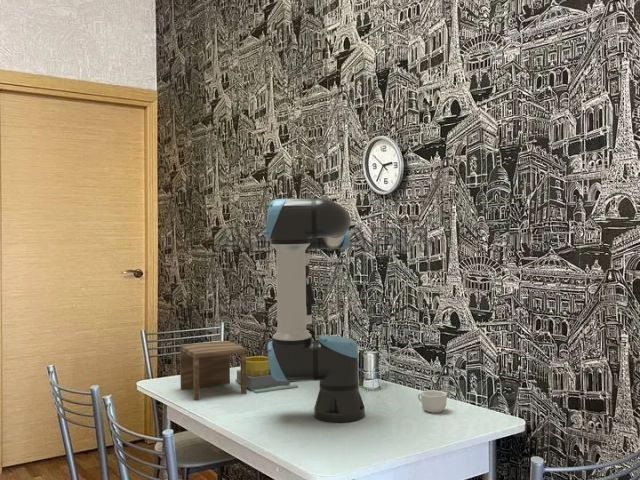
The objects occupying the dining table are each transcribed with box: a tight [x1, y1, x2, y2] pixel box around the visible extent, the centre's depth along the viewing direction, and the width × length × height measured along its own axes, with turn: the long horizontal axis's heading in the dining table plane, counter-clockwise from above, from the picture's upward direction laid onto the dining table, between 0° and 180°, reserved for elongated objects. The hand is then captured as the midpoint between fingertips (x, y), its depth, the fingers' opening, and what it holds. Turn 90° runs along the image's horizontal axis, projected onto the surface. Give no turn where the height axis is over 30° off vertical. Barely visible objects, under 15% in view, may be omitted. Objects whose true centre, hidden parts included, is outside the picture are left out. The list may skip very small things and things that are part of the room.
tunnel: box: [179, 340, 248, 401], centre depth 219 cm, size 18×18×16 cm
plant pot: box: [246, 355, 270, 377], centre depth 226 cm, size 10×10×10 cm
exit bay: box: [234, 378, 299, 394], centre depth 229 cm, size 21×16×1 cm
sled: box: [236, 369, 291, 391], centre depth 230 cm, size 15×25×11 cm, turn 117°
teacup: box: [417, 389, 448, 414], centre depth 192 cm, size 10×8×5 cm
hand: (300, 321), depth 235 cm, fingers open, 13 cm apart
